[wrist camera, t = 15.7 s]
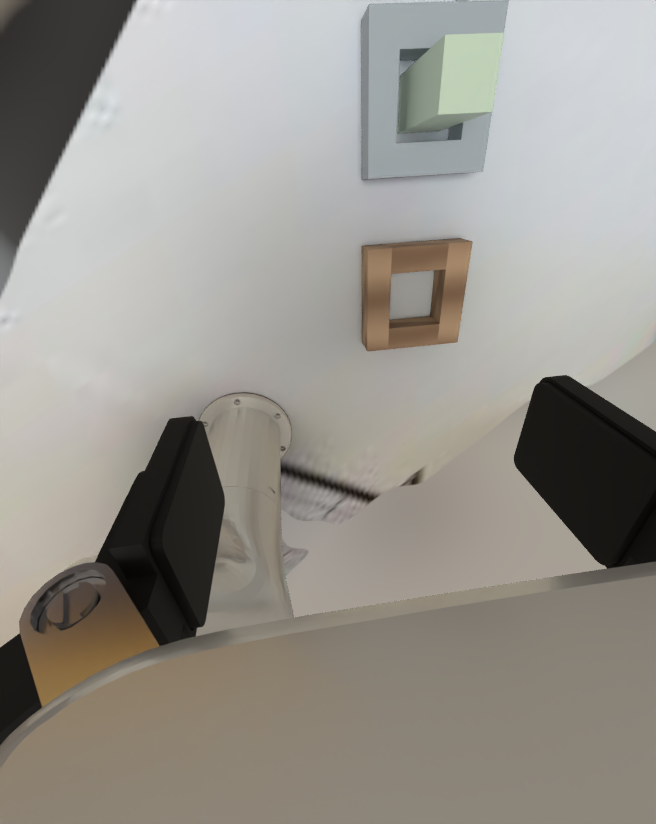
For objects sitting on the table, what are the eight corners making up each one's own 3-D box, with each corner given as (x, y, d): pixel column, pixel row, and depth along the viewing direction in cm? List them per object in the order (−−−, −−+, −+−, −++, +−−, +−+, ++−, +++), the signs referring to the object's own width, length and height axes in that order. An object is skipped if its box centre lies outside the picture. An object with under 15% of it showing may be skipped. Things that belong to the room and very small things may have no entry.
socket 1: (468, 172, 36) (482, 171, 33) (361, 179, 35) (368, 178, 32) (489, 16, 30) (508, 0, 27) (361, 20, 29) (369, 3, 27)
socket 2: (447, 333, 45) (457, 342, 42) (362, 342, 44) (367, 351, 42) (459, 238, 39) (472, 241, 36) (361, 245, 38) (367, 249, 36)
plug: (438, 131, 34) (492, 111, 25) (397, 133, 33) (438, 114, 25) (443, 74, 32) (504, 32, 23) (399, 76, 31) (445, 34, 23)
